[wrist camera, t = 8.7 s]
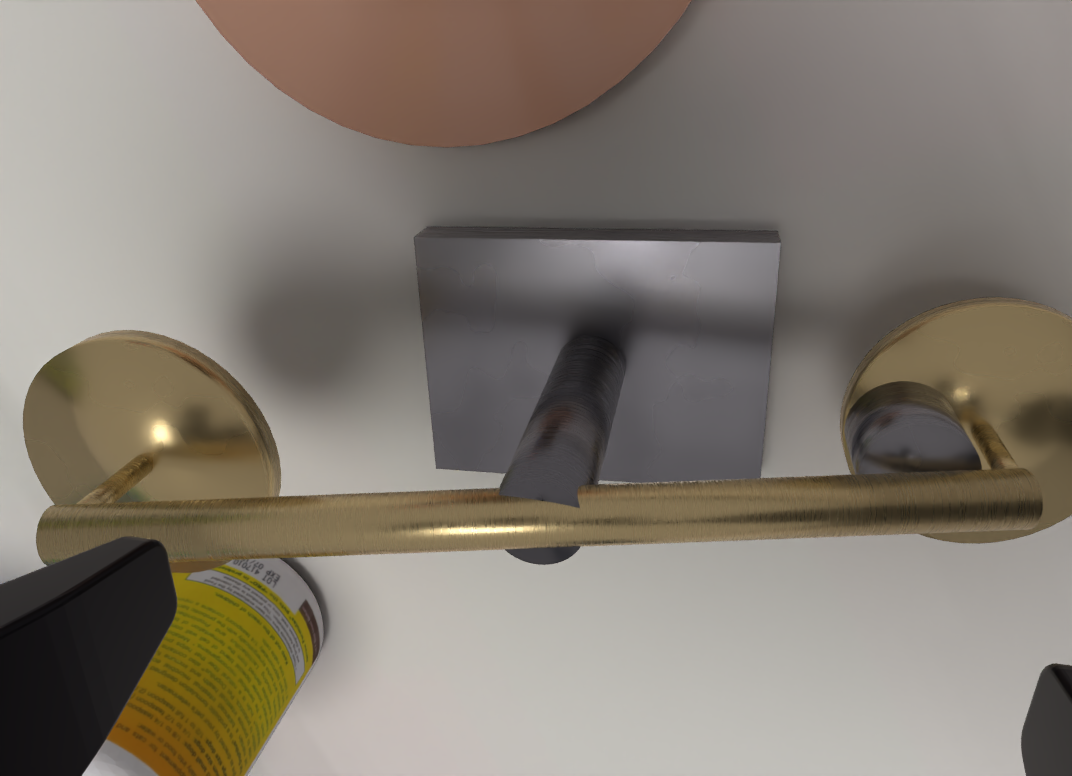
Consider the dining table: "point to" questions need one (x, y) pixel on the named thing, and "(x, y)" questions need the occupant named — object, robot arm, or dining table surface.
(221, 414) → the balance
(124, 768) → the supplement bottle
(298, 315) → the dining table surface
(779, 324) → the dining table surface
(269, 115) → the dining table surface
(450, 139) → the dish
